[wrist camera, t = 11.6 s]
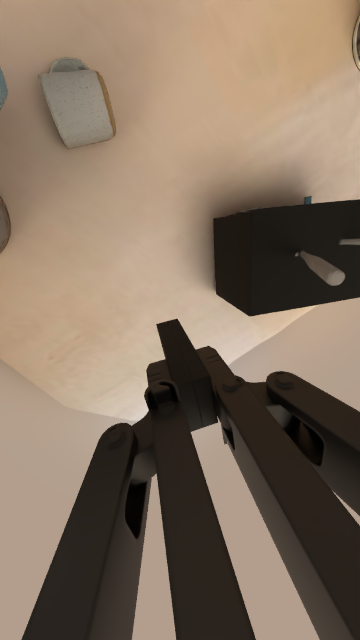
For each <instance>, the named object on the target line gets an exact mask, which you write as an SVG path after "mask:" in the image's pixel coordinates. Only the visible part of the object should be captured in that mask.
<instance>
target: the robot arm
mask: <svg viewBox="0 0 360 640" xmlns="http://www.w3.org/2000/svg"><path fill="white" fill-rule="evenodd" d="M6 98H7V86H6V81H5V77H4V75H3V72H2V70H1V68H0V109H1V107H2V105H3V104H4V102H5V100H6ZM9 236H10V219H9V215H8V212H7V209H6V207H5V204H4V203H3V201H2V199H1V197H0V252H1V251H2V250H3V249H4V248H5V246H6V244H7V242H8V240H9ZM156 325H157V329H158V332H159V336H160V340H161V344H162V347H163V351H164V355H165V360H161V361H158V362H154V363H151V364H149V366H148V368H147V370H146V371H147V379H148V388H147V389H146V391H145V394H144V397H145V400H146V403H147V406H148V409H149V411H148V413H147V414H146V415H145V417H144V418H142V419H141V420H140V421H138V422H137V423H135V424H134V425H132V426H131V425H129V424H127V423H119V424H115V425H114V426H111V427H110V428H108V429H107V430H106V431H105V432H104V433H103V434H102V436H101V438H100V439H99V441H98V444H97V447H96V449H95V452H94V454H93V457H92V460H91V462H90V465H89V467H88V470H87V473H86V475H85V478H84V480H83V483H82V485H81V488H80V491H79V493H78V496H77V498H76V501H75V504H74V506H73V508H72V511H71V514H70V517H69V519H68V521H67V524H66V527H65V529H64V532H63V534H62V537H61V540H60V542H59V545H58V547H57V550H56V553H55V555H54V557H53V560H52V563H51V565H50V568H49V570H48V573H47V575H46V578H45V581H44V583H43V586H42V588H41V591H40V594H39V596H38V599H37V601H36V604H35V607H34V609H33V612H32V614H31V617H30V619H29V622H28V624H27V627H26V630H25V632H24V635H23V637H22V640H132V633H133V625H134V617H135V609H136V600H137V593H138V585H139V576H140V568H141V560H142V552H143V543H144V535H145V528H146V520H147V512H148V504H149V503H148V502H149V495H150V487H151V477H153V476H154V475H155V474H157V480H158V488H159V496H160V505H161V514H162V521H163V530H164V539H165V547H166V555H167V564H168V573H169V581H170V590H171V598H172V607H173V615H174V623H175V631H176V640H256V639H255V635H254V632H253V629H252V626H251V623H250V620H249V616H248V613H247V610H246V607H245V604H244V601H243V597H242V594H241V591H240V588H239V585H238V581H237V578H236V576H235V572H234V569H233V566H232V562H231V559H230V556H229V553H228V550H227V546H226V544H225V540H224V537H223V534H222V531H221V527H220V524H219V521H218V518H217V515H216V511H215V509H214V505H213V502H212V499H211V496H210V492H209V489H208V486H207V483H206V480H205V477H204V474H203V470H202V467H201V464H200V461H199V458H198V454H197V451H196V448H195V445H194V442H193V439H192V435H191V432H192V431H194V430H197V429H200V428H203V427H206V426H209V425H212V424H215V423H218V419H217V416H218V418H219V420H220V422H221V426H222V433H223V439H224V443H225V444H227V442H228V445H229V447H230V449H231V451H232V453H233V456H234V458H235V460H236V462H237V464H238V466H239V468H240V470H241V473H242V475H243V477H244V479H245V481H246V483H247V485H248V488H249V490H250V492H251V494H252V496H253V498H254V500H255V502H256V505H257V507H258V509H259V511H260V513H261V515H262V517H263V520H264V522H265V524H266V526H267V528H268V530H269V532H270V534H271V537H272V539H273V541H274V543H275V545H276V547H277V549H278V551H279V553H280V555H281V558H282V560H283V562H284V564H285V566H286V568H287V571H288V573H289V575H290V577H291V579H292V581H293V583H294V585H295V588H296V590H297V592H298V594H299V596H300V598H301V600H302V603H303V605H304V607H305V609H306V611H307V613H308V615H309V617H310V620H311V622H312V624H313V626H314V628H315V630H316V632H317V634H318V636H319V639H320V640H360V526H359V524H358V523H357V522H356V521H355V519H354V518H353V517H352V516H351V514H350V513H349V512H348V511H347V509H346V508H345V507H344V506H343V504H342V503H341V502H340V500H339V499H338V498H337V497H336V495H335V494H334V493H333V492H335V493H336V494H337V495H338V496H339V497H340V498H341V499H342V500H343V501H344V502H345V503H346V504H347V505H349V506H350V507H351V508H352V509H353V510H354V511H355V512H356V513H357V514H358V515H359V516H360V412H359V411H357V410H356V409H354V408H352V407H350V406H348V405H347V404H345V403H343V402H342V401H340V400H338V399H336V398H335V397H333V396H331V395H329V394H328V393H326V392H324V391H322V390H321V389H319V388H317V387H315V386H314V385H312V384H310V383H308V382H306V381H305V380H303V379H301V378H300V377H298V376H296V375H294V374H292V373H289V372H283V371H280V372H274V373H271V374H270V375H269V376H267V379H266V382H259V383H250V382H246V381H245V380H244V379H242V378H241V377H239V376H236V375H234V374H233V373H232V371H231V370H230V368H229V367H228V366H227V364H226V363H225V362H224V360H222V358H221V356H219V354H218V352H217V351H216V350H215V349H213V348H211V347H210V346H207V347H203V348H200V349H197V350H195V348H194V347H193V345H192V343H191V341H190V340H189V338H188V336H187V334H186V333H185V331H184V329H183V328H182V326H181V324H180V322H179V321H178V319H174V320H170V321H167V322H163V323H159V324H156Z"/></svg>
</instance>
